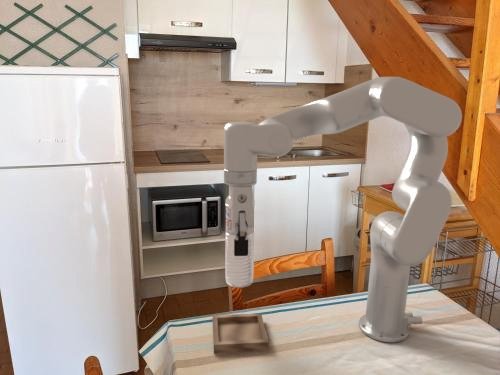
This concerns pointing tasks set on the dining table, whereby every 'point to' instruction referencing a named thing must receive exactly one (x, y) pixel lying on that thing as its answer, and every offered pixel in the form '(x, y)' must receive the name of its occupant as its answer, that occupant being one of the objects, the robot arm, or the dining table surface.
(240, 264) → the water bottle
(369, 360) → the dining table surface
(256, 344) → the tray
